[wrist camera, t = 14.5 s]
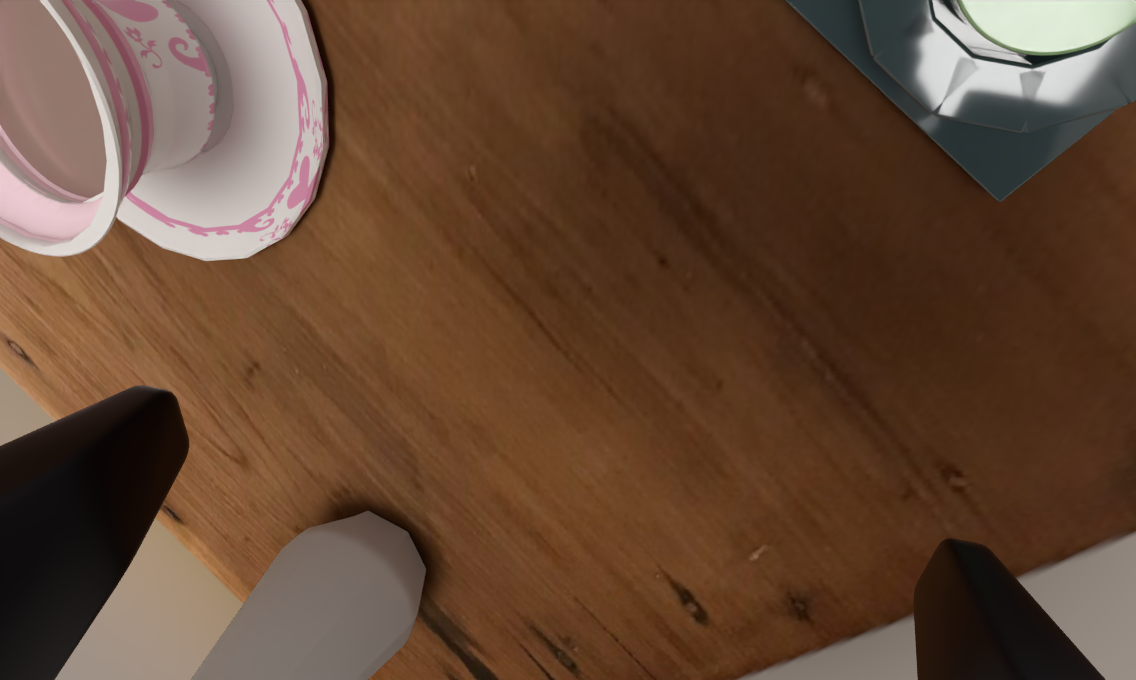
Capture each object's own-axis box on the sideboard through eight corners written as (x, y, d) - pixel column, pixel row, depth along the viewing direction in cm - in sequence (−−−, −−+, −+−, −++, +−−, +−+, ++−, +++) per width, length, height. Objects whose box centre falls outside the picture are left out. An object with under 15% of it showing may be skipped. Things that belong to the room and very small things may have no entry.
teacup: (398, 30, 21) (237, 53, 16) (261, 321, 27) (116, 405, 22) (60, -246, 21) (-213, -316, 16) (4, 110, 27) (-202, 145, 22)
